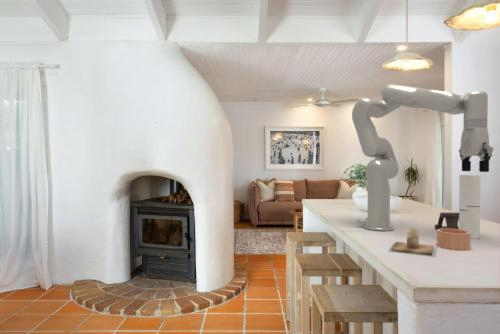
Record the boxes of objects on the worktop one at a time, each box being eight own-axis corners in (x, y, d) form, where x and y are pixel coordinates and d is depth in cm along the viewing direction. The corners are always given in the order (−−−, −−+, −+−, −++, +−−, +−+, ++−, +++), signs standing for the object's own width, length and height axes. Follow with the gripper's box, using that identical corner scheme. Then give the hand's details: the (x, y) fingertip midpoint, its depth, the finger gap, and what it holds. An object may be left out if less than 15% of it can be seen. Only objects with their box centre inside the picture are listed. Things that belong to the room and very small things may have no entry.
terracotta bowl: (436, 249, 121) (436, 232, 121) (437, 243, 129) (437, 227, 129) (470, 253, 116) (471, 235, 116) (469, 247, 124) (469, 230, 124)
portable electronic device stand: (454, 229, 158) (454, 210, 158) (464, 232, 150) (464, 213, 150) (434, 229, 158) (434, 210, 158) (443, 232, 151) (444, 213, 150)
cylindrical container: (480, 239, 137) (480, 175, 137) (458, 237, 141) (459, 175, 141) (479, 236, 143) (480, 174, 143) (459, 234, 147) (459, 174, 147)
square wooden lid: (391, 251, 116) (391, 230, 116) (395, 243, 127) (396, 225, 127) (432, 255, 111) (432, 234, 111) (433, 247, 121) (433, 228, 121)
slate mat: (387, 252, 116) (387, 251, 116) (393, 244, 128) (393, 243, 128) (435, 258, 109) (435, 257, 109) (436, 249, 121) (436, 247, 121)
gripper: (451, 127, 139) (450, 170, 139) (481, 122, 122) (481, 172, 122) (469, 127, 139) (469, 170, 140) (502, 122, 122) (502, 172, 122)
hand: (474, 171), depth 131 cm, fingers open, 9 cm apart
